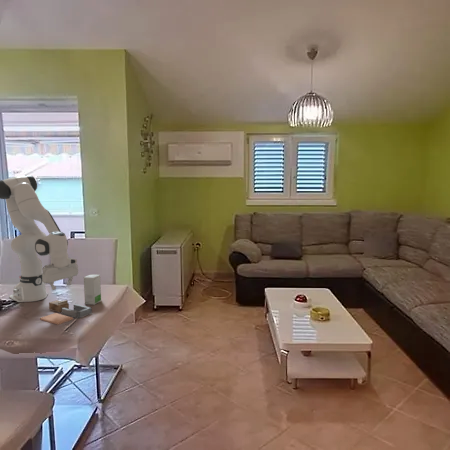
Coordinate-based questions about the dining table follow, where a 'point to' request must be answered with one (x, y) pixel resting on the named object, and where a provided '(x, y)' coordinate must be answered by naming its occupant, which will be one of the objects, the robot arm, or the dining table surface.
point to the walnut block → (58, 305)
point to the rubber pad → (56, 318)
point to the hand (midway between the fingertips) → (61, 287)
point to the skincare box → (92, 289)
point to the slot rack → (77, 311)
